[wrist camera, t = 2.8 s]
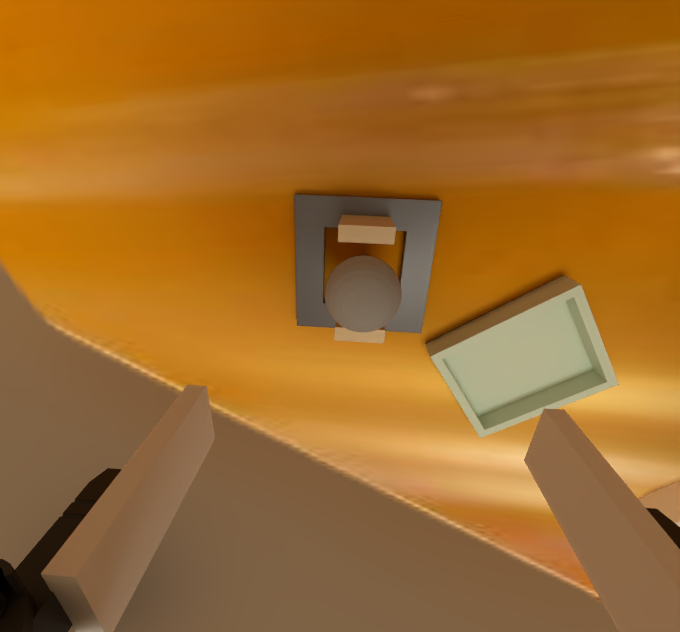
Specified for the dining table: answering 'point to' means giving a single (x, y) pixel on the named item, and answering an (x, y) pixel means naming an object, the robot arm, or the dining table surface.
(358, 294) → the light bulb
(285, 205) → the dining table surface
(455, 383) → the parts tray
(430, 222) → the frame
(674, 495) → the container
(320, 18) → the dining table surface
